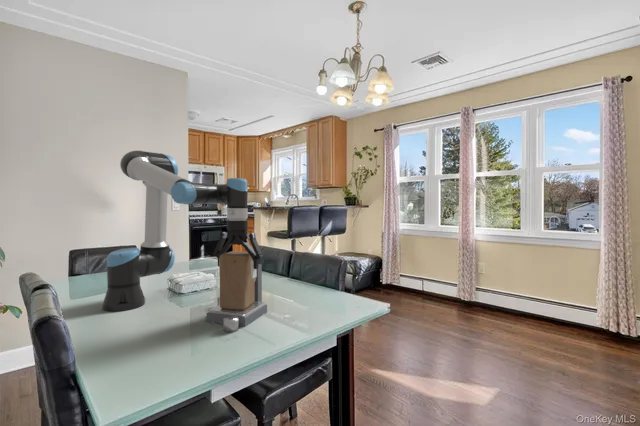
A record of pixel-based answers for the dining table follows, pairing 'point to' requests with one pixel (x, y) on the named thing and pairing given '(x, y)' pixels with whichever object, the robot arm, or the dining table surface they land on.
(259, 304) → the pan
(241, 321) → the base
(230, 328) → the cylinder
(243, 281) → the wooden block
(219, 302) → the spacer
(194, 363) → the dining table surface
